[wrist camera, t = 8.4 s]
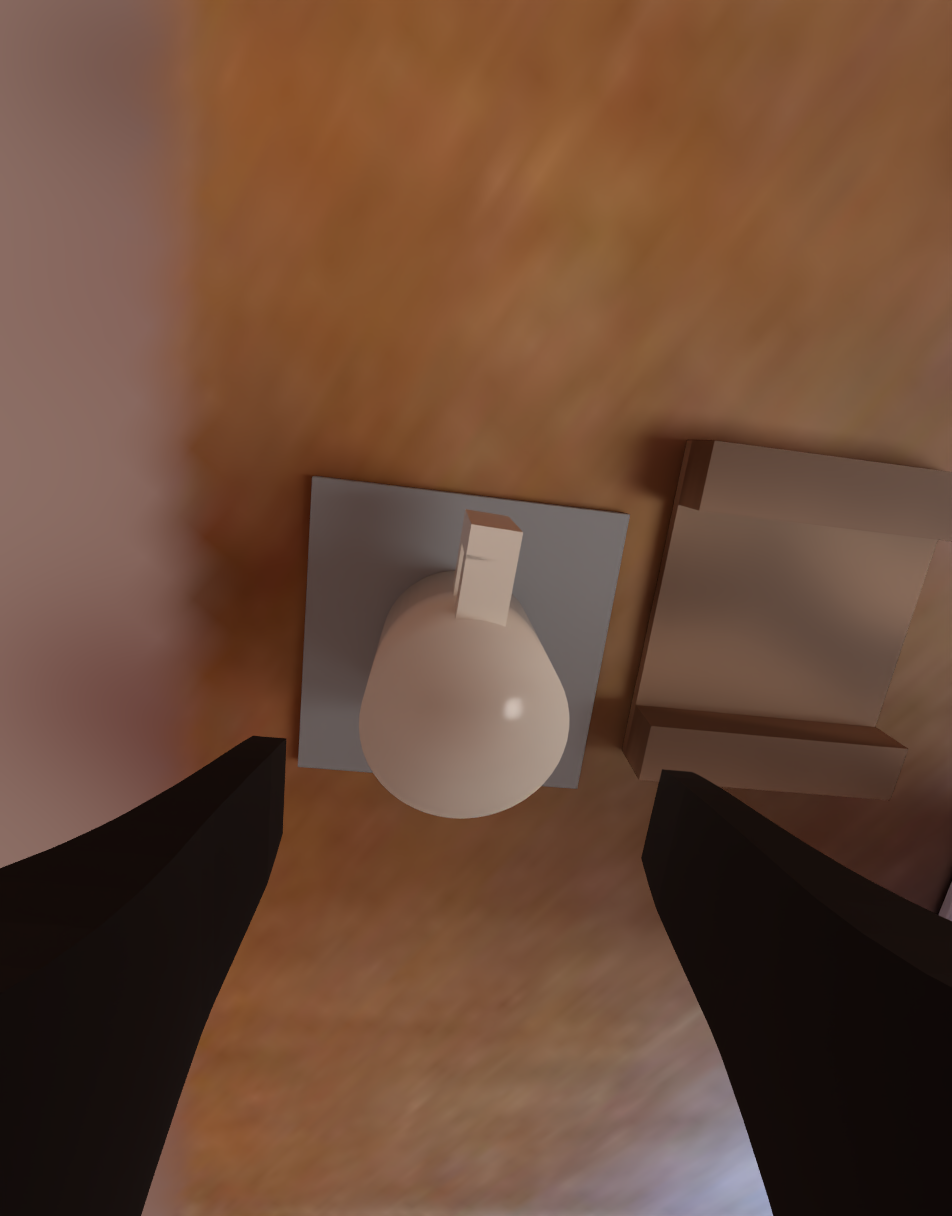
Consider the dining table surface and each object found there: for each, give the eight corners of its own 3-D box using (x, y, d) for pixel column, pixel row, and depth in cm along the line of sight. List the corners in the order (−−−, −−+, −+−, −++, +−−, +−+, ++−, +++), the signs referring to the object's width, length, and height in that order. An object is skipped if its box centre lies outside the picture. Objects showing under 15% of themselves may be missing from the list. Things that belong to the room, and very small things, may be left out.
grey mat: (574, 782, 22) (577, 788, 22) (300, 760, 21) (298, 766, 21) (626, 513, 19) (629, 514, 19) (314, 475, 19) (312, 476, 18)
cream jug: (516, 720, 21) (547, 828, 15) (373, 702, 20) (347, 807, 15) (558, 516, 19) (610, 549, 13) (400, 490, 18) (385, 513, 13)
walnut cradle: (852, 769, 23) (890, 800, 21) (621, 749, 22) (639, 780, 20) (949, 474, 20) (1004, 479, 18) (687, 439, 19) (714, 440, 17)
